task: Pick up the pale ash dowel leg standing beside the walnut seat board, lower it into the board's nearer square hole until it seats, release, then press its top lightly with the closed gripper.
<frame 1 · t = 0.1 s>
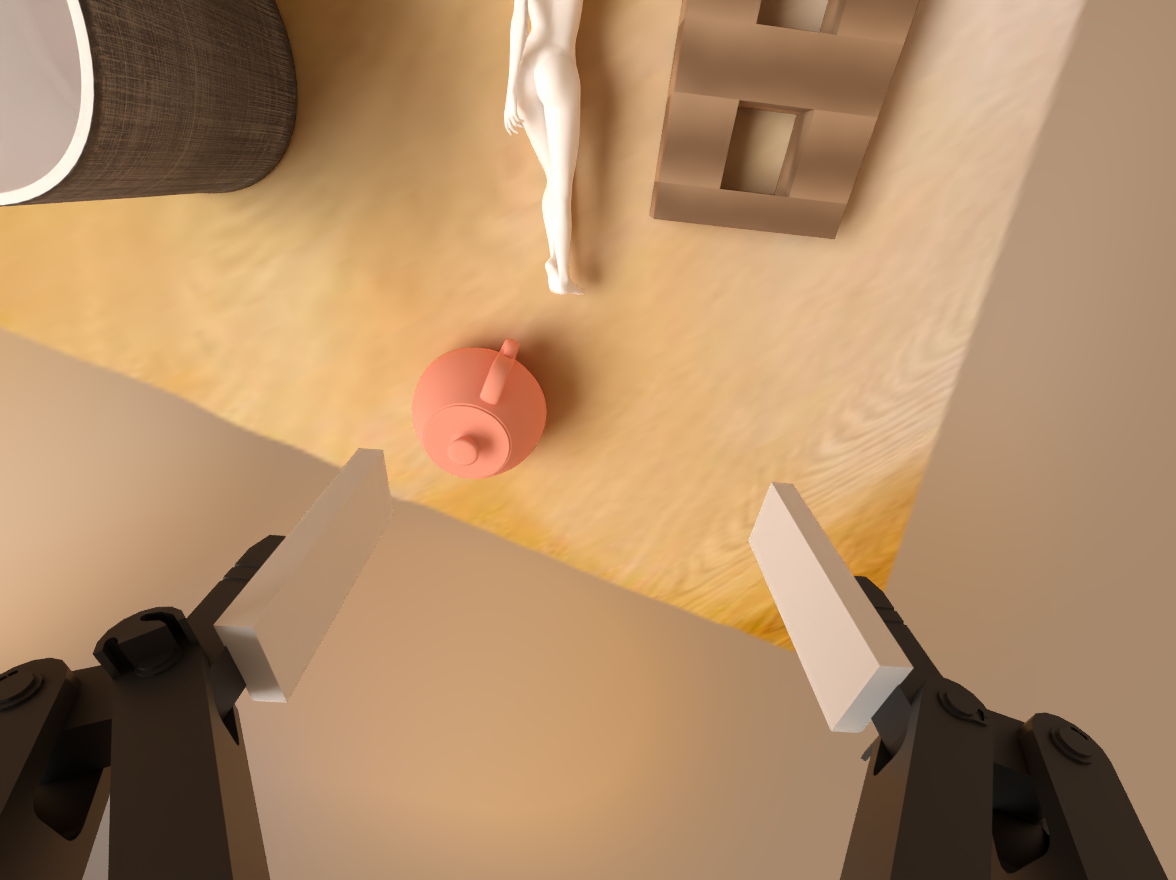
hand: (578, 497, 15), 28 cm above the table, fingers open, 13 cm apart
planter: (165, 45, 31), on the table
figurine: (565, 112, 33), on the table
board: (772, 67, 31), on the table
sugar bowl: (490, 390, 44), on the table
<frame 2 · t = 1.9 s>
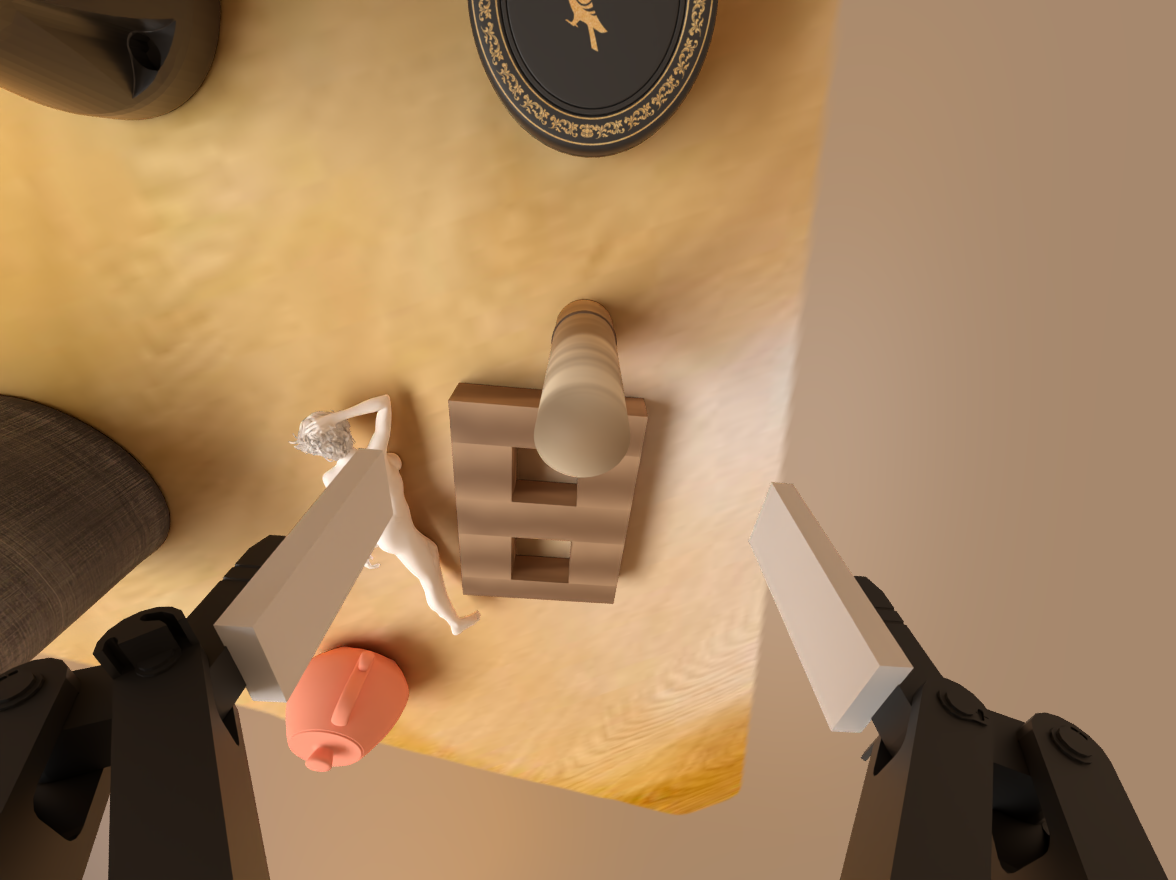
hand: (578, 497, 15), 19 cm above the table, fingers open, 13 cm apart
planter: (60, 484, 39), on the table
leg: (584, 328, 31), on the table
figurine: (420, 512, 40), on the table
jar: (590, 48, 24), on the table
board: (546, 494, 39), on the table
sugar bowl: (365, 662, 52), on the table
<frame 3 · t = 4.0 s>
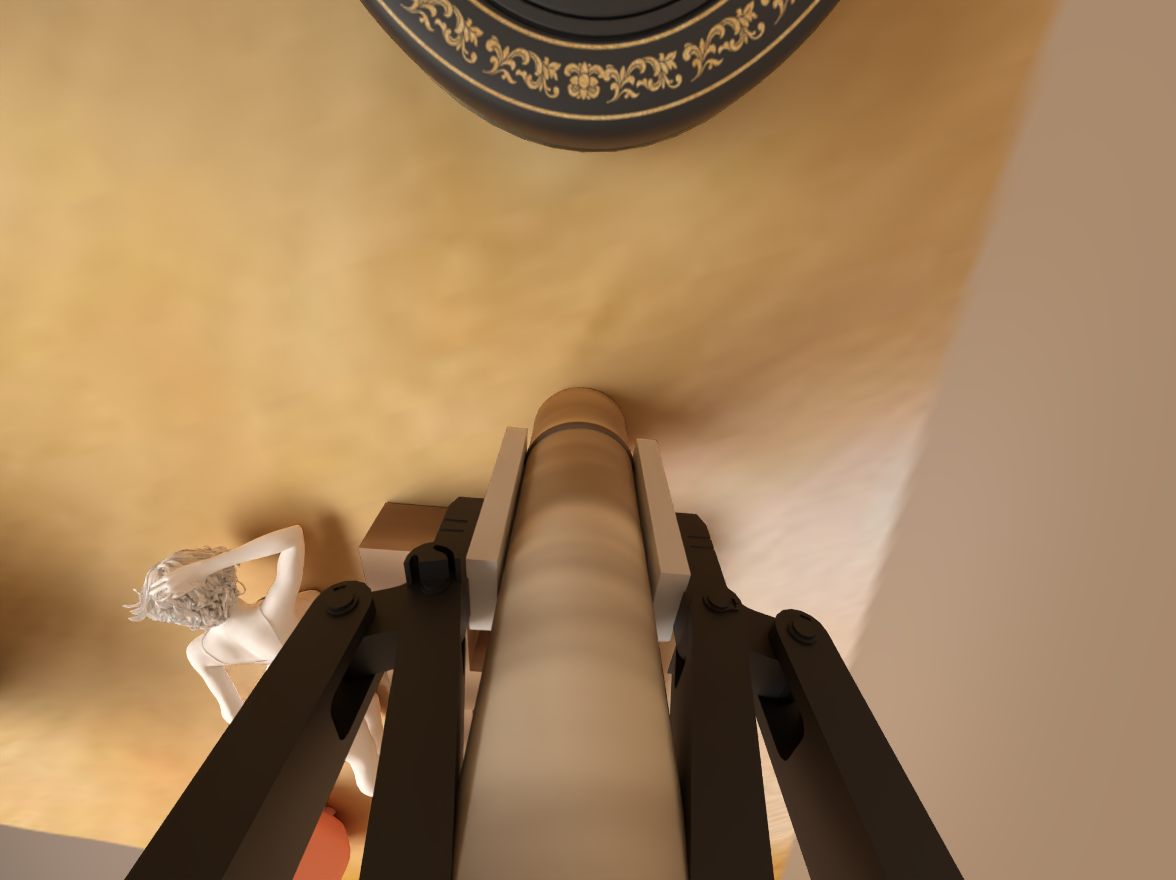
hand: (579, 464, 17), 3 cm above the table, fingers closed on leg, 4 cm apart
leg: (580, 429, 19), on the table, touching gripper
figurine: (355, 656, 28), on the table
board: (524, 639, 27), on the table
sugar bowl: (295, 808, 40), on the table
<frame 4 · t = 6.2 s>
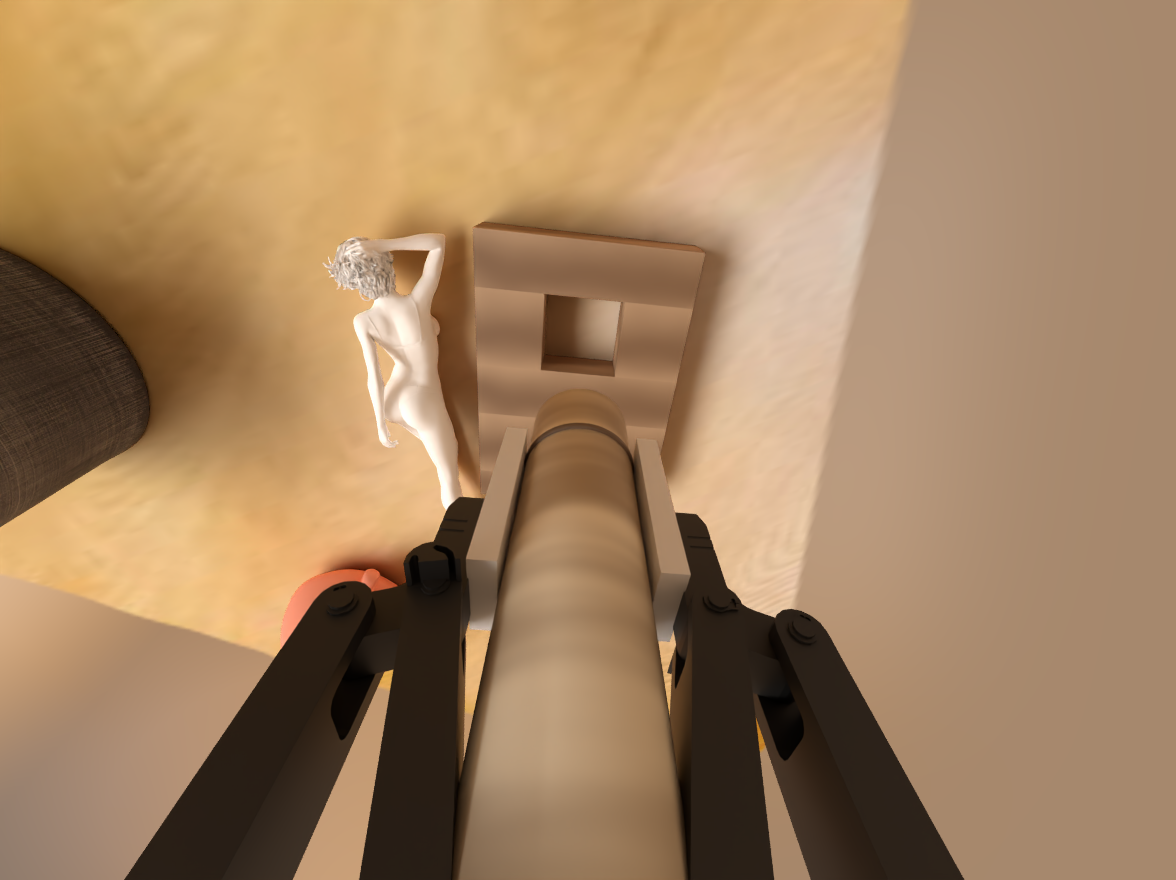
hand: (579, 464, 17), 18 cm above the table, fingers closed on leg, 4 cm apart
planter: (23, 358, 34), on the table
leg: (580, 430, 19), point 15 cm above the table, touching gripper
figurine: (446, 398, 36), on the table
board: (577, 375, 34), on the table
sugar bowl: (368, 590, 47), on the table
when the fingers open (4 cm above the table, at t = 8.2 s): leg drops 1 cm, resting in board.
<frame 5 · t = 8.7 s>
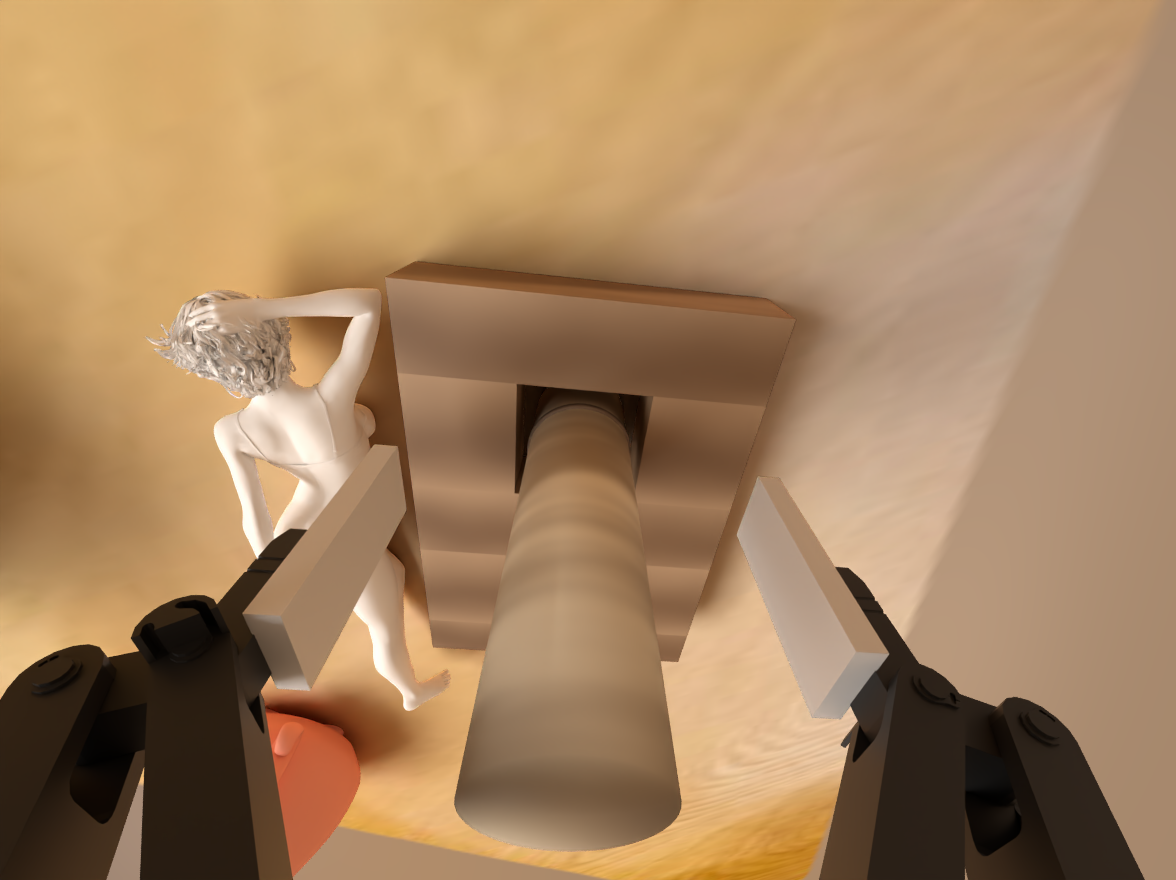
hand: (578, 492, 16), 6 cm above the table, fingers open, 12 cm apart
leg: (580, 414, 21), resting in board
figurine: (388, 511, 24), on the table
board: (573, 482, 23), on the table
sugar bowl: (298, 728, 36), on the table
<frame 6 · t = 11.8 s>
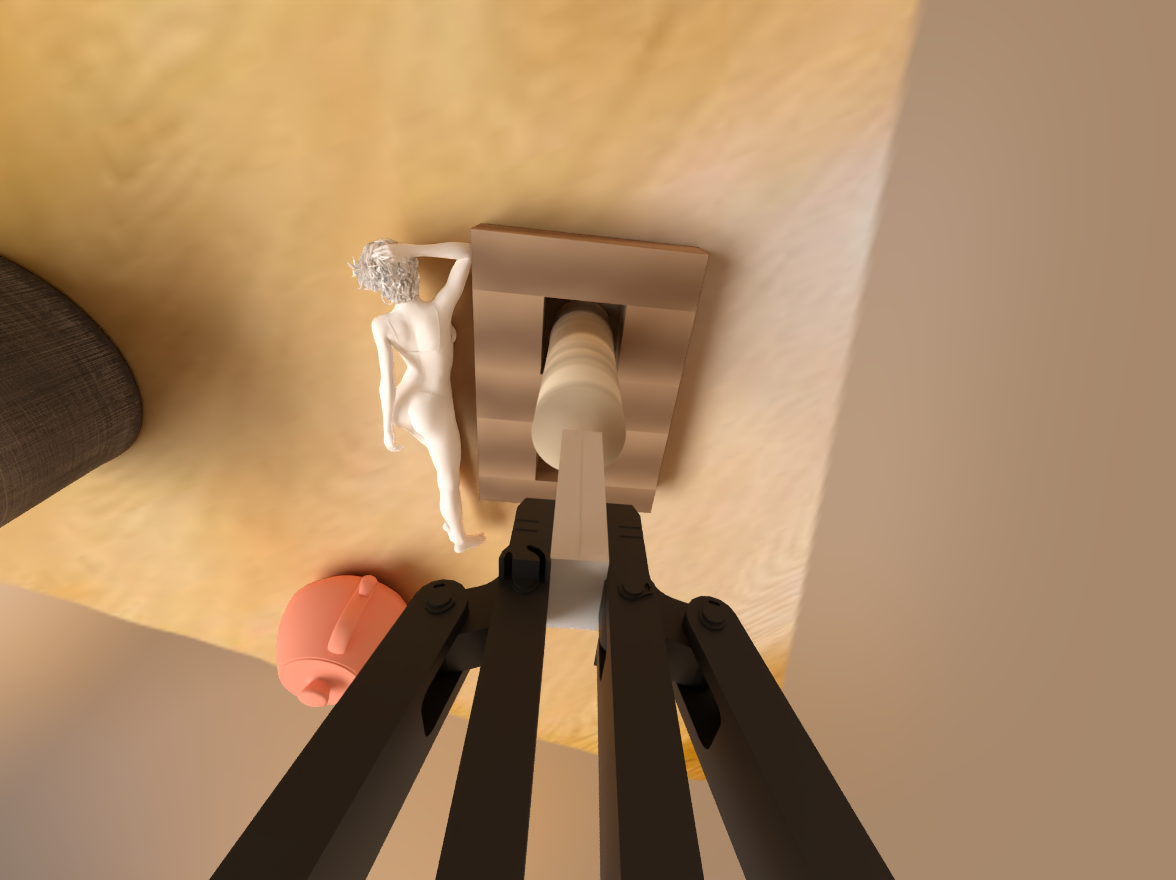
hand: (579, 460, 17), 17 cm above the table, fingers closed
planter: (13, 362, 33), on the table
leg: (582, 327, 32), resting in board
figurine: (453, 404, 35), on the table, touching board
board: (577, 379, 34), on the table
sugar bowl: (365, 596, 47), on the table
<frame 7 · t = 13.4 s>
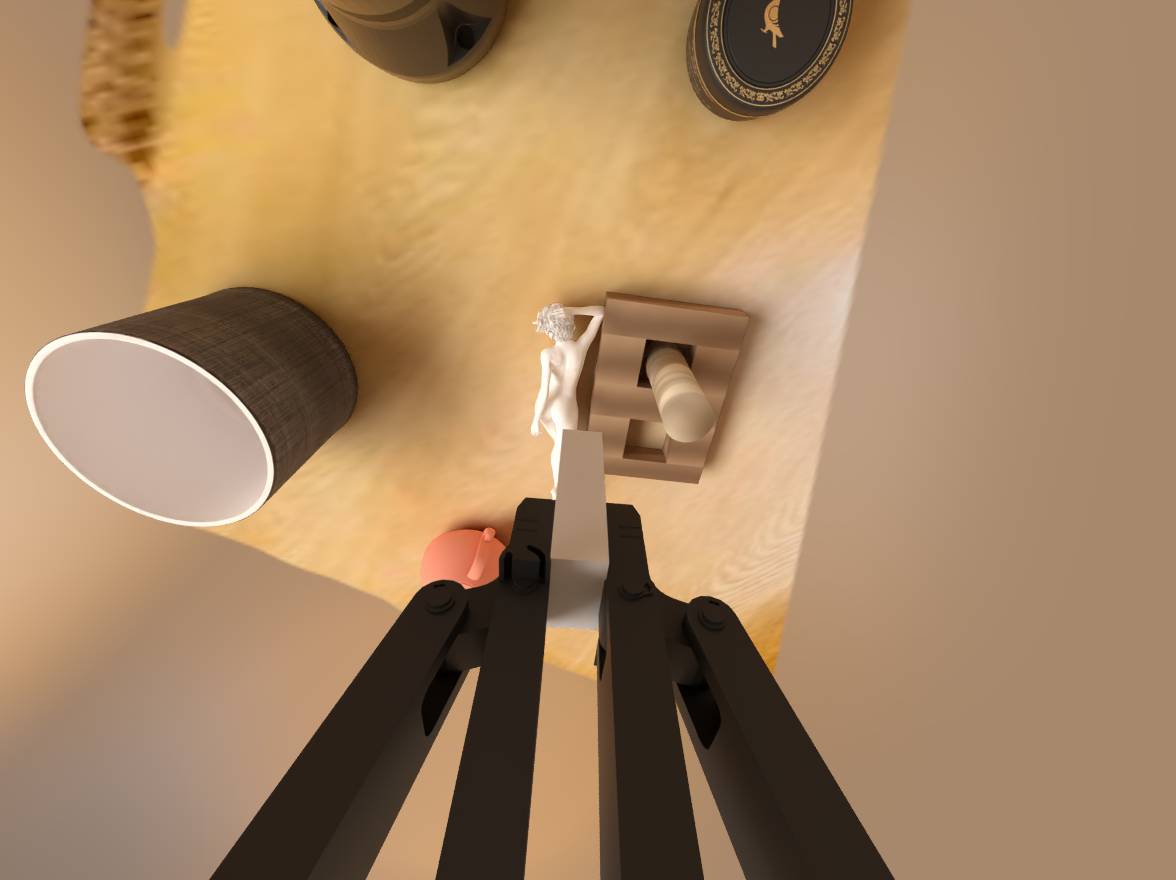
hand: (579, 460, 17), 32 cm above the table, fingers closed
planter: (276, 369, 49), on the table
leg: (661, 357, 48), resting in board
figurine: (568, 406, 52), on the table
jar: (741, 49, 36), on the table
board: (654, 390, 50), on the table
sugar bowl: (475, 547, 63), on the table
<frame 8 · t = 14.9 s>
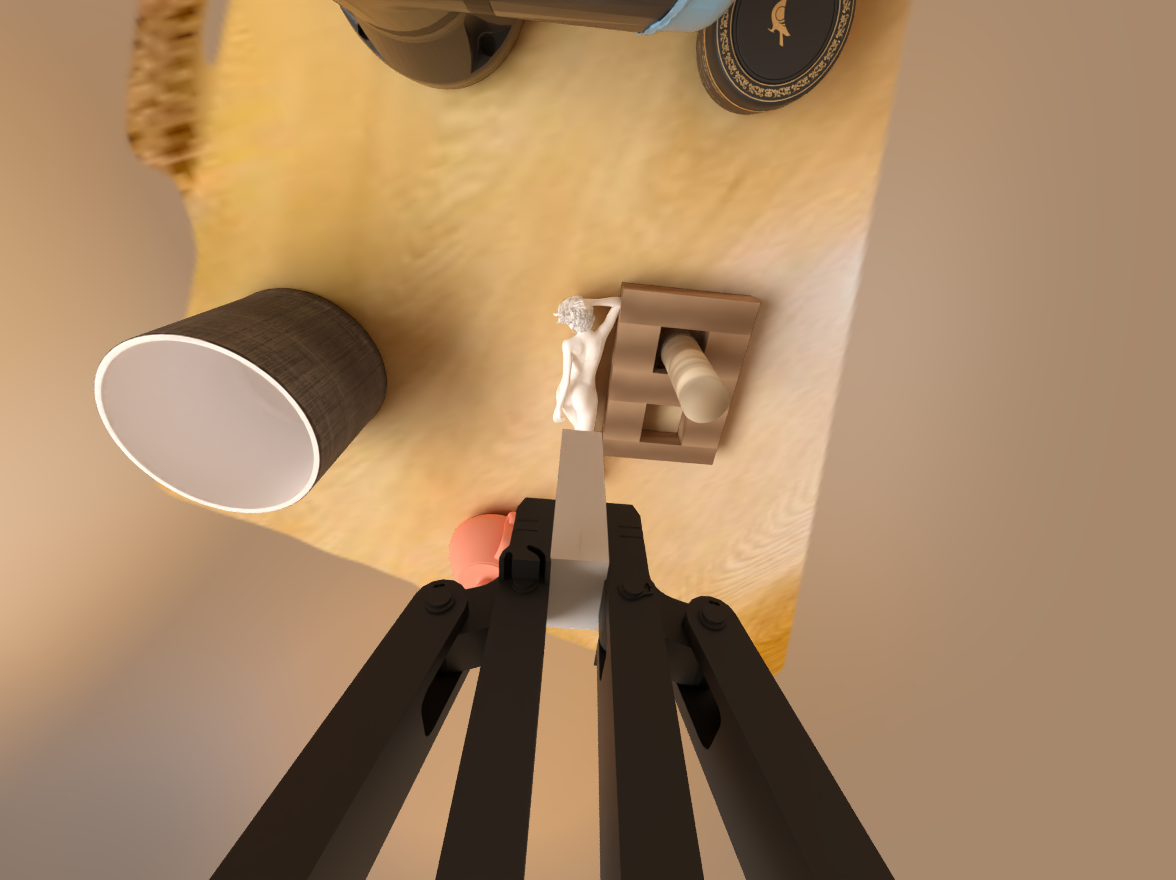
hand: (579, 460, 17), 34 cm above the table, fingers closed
planter: (310, 365, 52), on the table
leg: (675, 343, 50), resting in board
figurine: (587, 394, 54), on the table
jar: (749, 45, 37), on the table
board: (668, 376, 53), on the table
sugar bowl: (499, 531, 66), on the table
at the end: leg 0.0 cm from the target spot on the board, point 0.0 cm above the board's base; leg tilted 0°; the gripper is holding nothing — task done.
